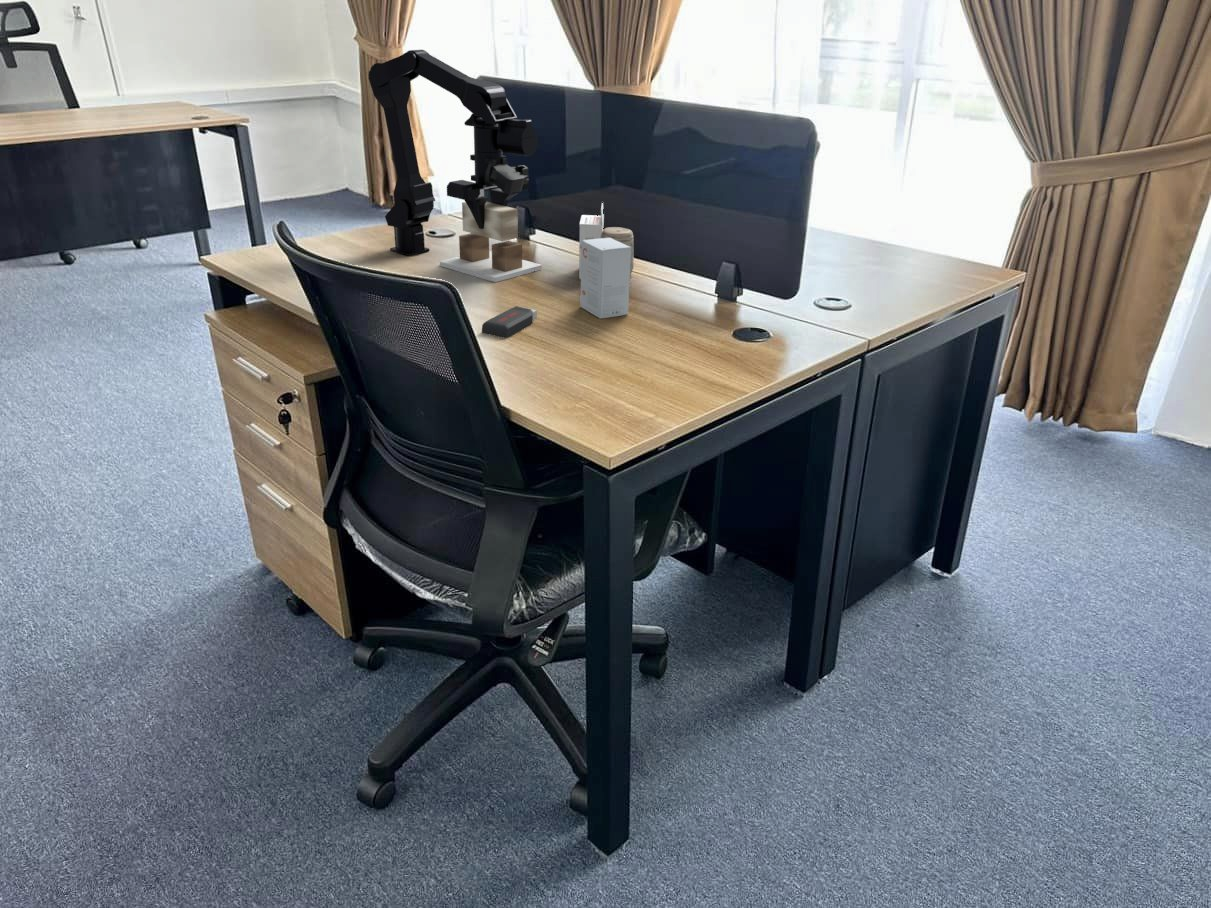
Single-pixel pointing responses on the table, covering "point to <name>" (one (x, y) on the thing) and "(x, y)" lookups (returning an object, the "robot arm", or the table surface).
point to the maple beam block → (493, 222)
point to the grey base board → (488, 268)
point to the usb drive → (509, 322)
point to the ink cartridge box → (590, 230)
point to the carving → (621, 239)
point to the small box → (605, 277)
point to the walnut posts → (503, 253)
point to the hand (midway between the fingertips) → (489, 226)
